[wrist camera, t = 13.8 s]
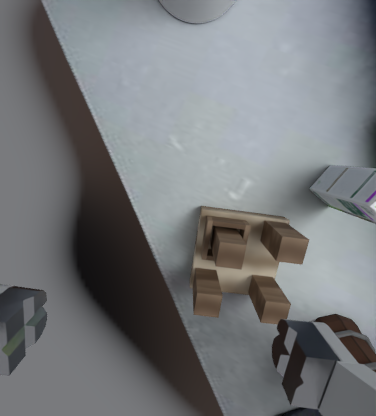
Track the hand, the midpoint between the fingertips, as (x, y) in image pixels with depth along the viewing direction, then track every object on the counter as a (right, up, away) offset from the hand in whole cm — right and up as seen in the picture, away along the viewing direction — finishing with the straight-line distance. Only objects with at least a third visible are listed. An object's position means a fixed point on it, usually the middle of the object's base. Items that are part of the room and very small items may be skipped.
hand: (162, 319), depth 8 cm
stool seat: (+10, -4, +37) cm, 39 cm away
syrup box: (+27, +8, +34) cm, 45 cm away
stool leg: (+7, -1, +34) cm, 35 cm away
